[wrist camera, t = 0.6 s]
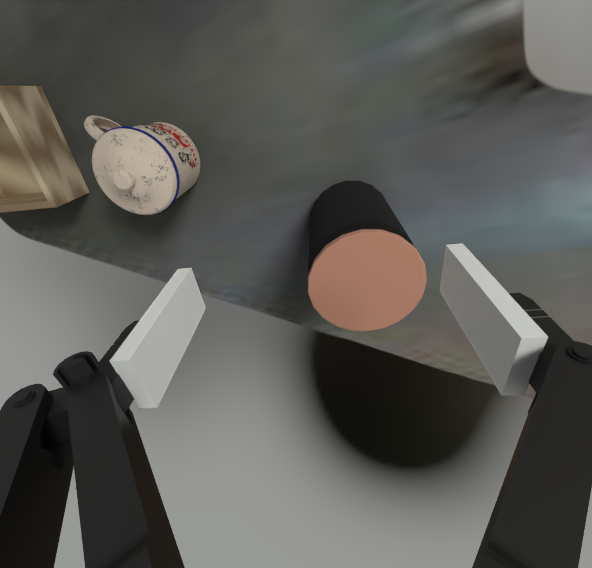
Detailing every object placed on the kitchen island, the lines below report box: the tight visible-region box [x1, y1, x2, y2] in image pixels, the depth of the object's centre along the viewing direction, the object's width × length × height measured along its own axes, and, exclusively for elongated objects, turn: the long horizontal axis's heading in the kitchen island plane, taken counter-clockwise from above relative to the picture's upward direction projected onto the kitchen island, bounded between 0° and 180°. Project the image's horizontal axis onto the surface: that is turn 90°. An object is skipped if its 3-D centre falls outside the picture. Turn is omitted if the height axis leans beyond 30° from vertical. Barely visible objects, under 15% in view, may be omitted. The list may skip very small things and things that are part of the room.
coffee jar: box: [308, 181, 427, 331], centre depth 36 cm, size 11×11×18 cm
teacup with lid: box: [84, 115, 200, 215], centre depth 35 cm, size 12×9×12 cm
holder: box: [0, 86, 89, 212], centre depth 38 cm, size 13×13×6 cm
